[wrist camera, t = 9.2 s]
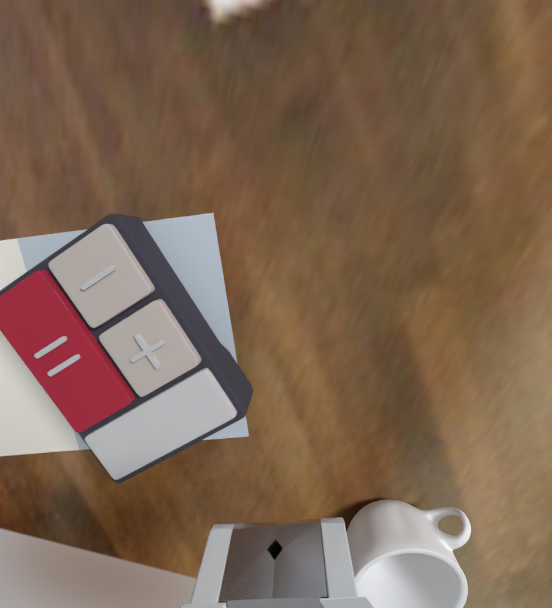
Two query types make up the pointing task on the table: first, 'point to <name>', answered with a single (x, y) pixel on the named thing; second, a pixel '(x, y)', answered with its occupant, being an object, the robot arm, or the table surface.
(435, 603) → the teacup
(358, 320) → the table surface
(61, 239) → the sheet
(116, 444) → the calculator
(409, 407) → the table surface
